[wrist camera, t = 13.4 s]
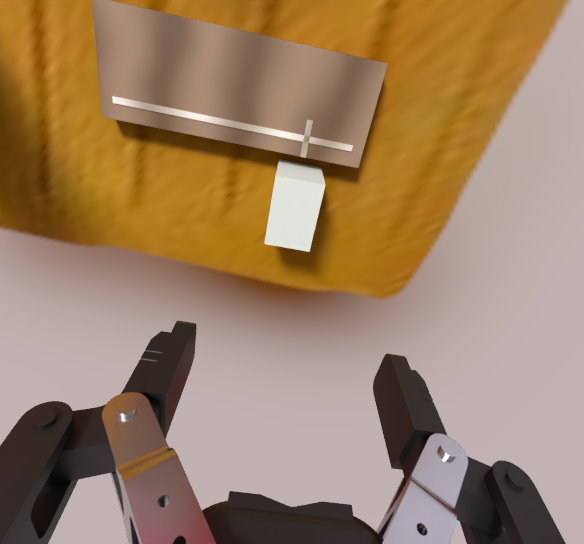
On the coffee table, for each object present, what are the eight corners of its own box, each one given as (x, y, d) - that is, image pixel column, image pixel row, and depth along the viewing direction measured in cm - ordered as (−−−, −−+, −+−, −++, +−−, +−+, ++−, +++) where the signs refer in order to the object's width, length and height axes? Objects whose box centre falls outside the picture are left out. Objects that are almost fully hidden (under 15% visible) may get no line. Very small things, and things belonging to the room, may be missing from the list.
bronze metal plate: (113, 114, 30) (101, 117, 28) (105, 1, 26) (91, -5, 24) (355, 163, 32) (358, 168, 30) (382, 64, 28) (388, 63, 26)
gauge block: (269, 219, 35) (264, 245, 30) (279, 159, 32) (275, 175, 27) (307, 226, 35) (309, 253, 30) (321, 167, 32) (325, 185, 27)
